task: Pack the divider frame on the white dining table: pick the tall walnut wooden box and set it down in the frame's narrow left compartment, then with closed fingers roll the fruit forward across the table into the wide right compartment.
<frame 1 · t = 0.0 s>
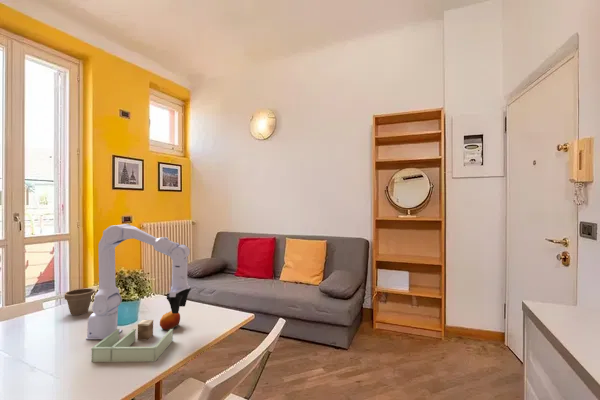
hand: (178, 309, 116), 10 cm above the table, fingers open, 7 cm apart
flower pot: (79, 313, 138), on the table
divider frame: (135, 350, 104), on the table
fruit: (170, 328, 123), on the table
walnut box: (145, 337, 114), on the table
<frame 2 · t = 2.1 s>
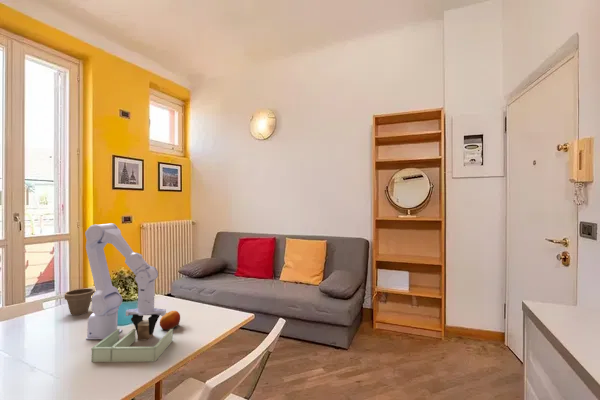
hand: (145, 333, 114), 1 cm above the table, fingers closed on walnut box, 4 cm apart
walnut box: (145, 337, 114), on the table, touching gripper
everything else where it was.
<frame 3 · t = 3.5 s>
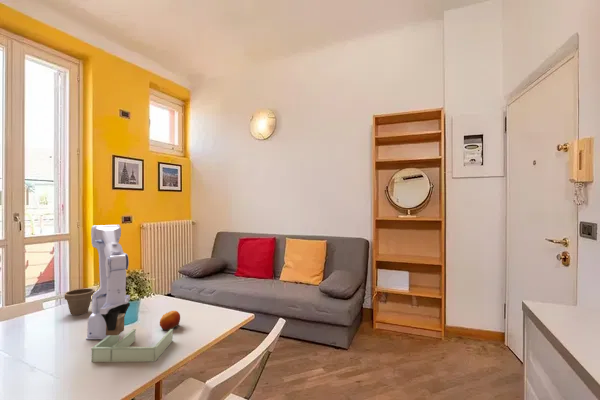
hand: (115, 327, 103), 8 cm above the table, fingers closed on walnut box, 4 cm apart
walnut box: (115, 332, 103), point 7 cm above the table, touching gripper
everything else where it was.
when the fingers open (3 cm above the table, at t = 5.0 s): walnut box stays where it is, resting in divider frame.
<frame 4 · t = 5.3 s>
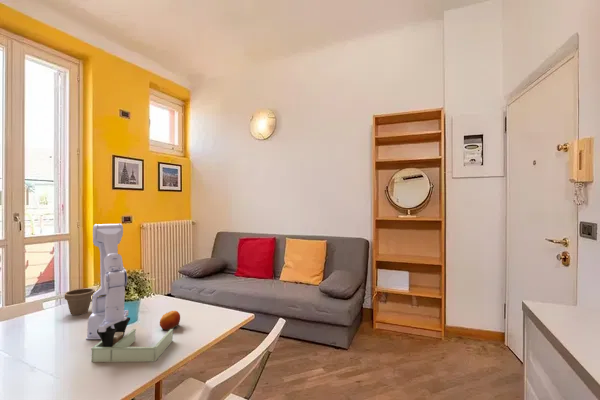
hand: (113, 343, 102), 3 cm above the table, fingers open, 6 cm apart
walnut box: (113, 351, 102), resting in divider frame
everything else where it was.
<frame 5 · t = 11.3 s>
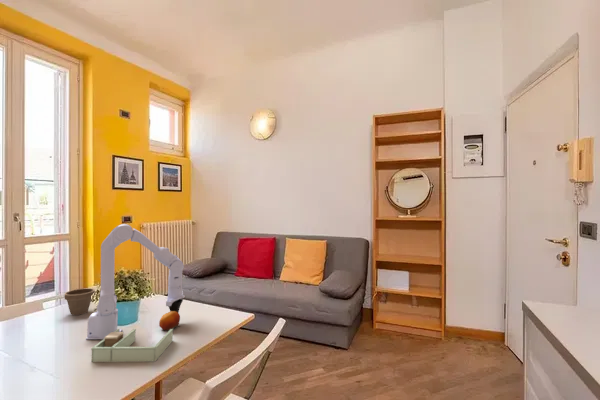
hand: (174, 317, 128), 3 cm above the table, fingers closed
fruit: (169, 328, 122), on the table, touching gripper
everything else where it was.
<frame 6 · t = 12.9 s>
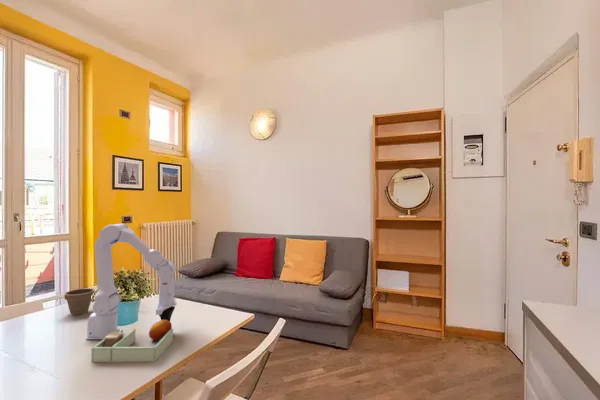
hand: (165, 325, 118), 3 cm above the table, fingers closed
fruit: (160, 338, 113), on the table, touching gripper
everything else where it was.
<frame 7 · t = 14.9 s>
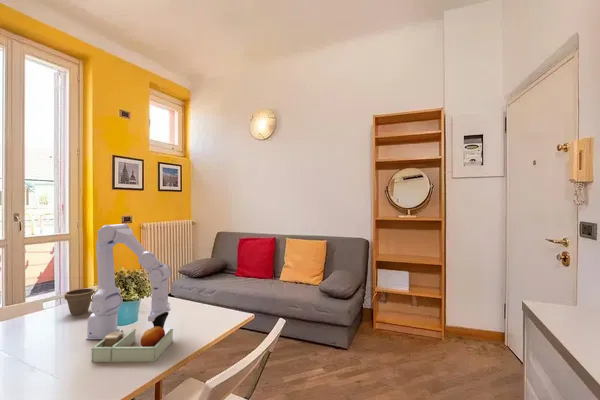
hand: (158, 332, 112), 3 cm above the table, fingers closed
fruit: (153, 346, 107), on the table, touching gripper
everything else where it was.
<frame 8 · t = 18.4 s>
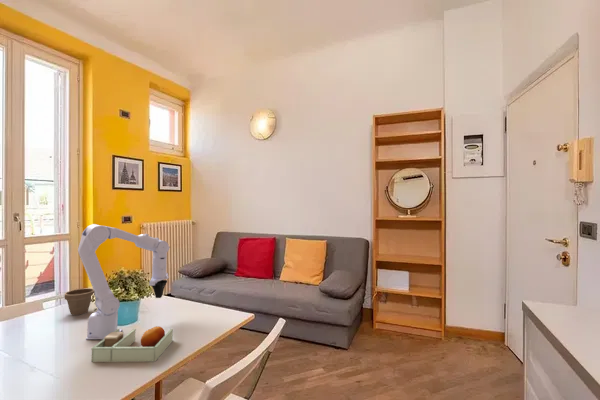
hand: (158, 297, 130), 10 cm above the table, fingers closed
fruit: (152, 346, 107), on the table
everything else where it was.
at the end: fruit inside the target area (3.7 cm from its centre), on the table; walnut box inside the target area (0.8 cm from its centre), resting in divider frame; walnut box tilted 0° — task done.
